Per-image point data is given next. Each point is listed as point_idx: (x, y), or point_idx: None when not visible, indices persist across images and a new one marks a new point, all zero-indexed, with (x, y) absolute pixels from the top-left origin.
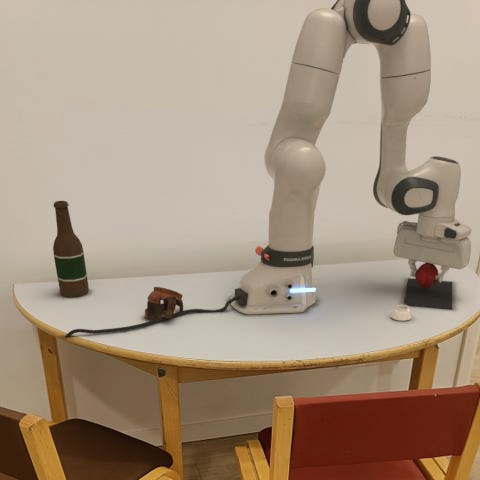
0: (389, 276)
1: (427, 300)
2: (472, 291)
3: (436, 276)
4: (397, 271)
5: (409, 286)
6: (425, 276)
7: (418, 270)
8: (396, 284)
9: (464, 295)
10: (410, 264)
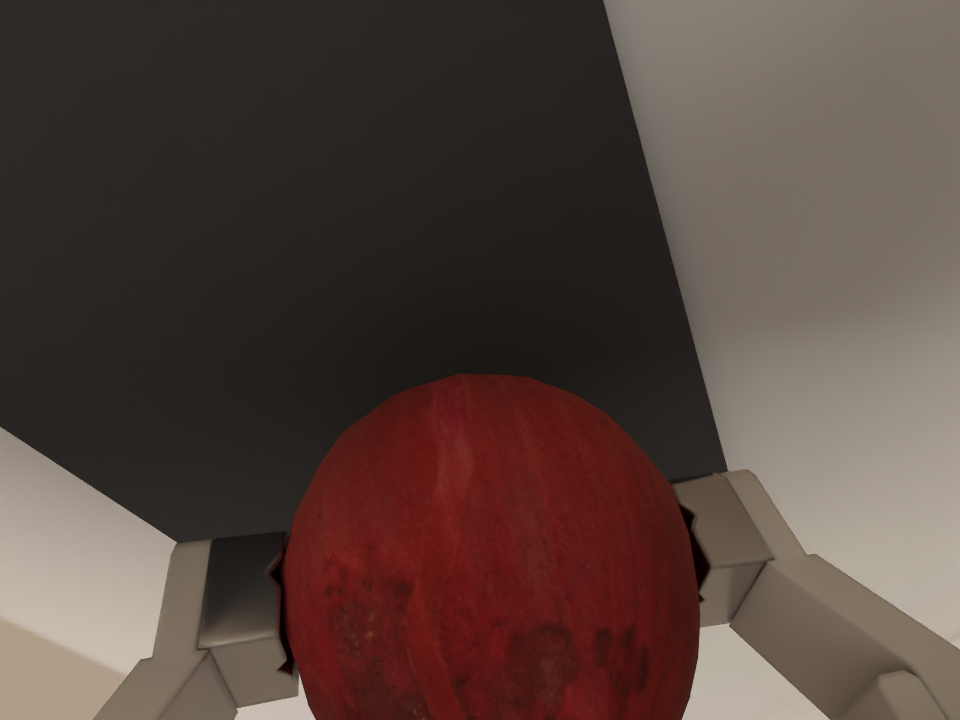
0: (918, 476)
1: (123, 47)
2: (90, 658)
3: (258, 616)
4: (857, 577)
5: (672, 387)
6: (431, 502)
7: (663, 576)
8: (828, 364)
9: (31, 565)
10: (900, 642)
